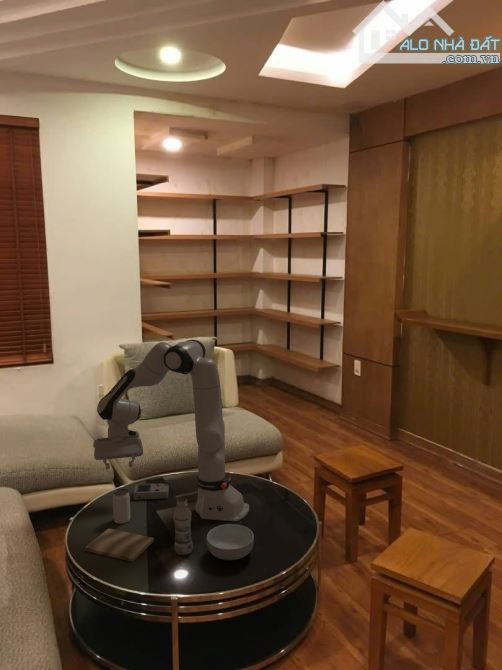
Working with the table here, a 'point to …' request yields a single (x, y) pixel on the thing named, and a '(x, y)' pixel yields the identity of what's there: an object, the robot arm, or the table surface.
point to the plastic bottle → (182, 528)
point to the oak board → (119, 544)
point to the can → (121, 506)
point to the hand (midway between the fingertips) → (119, 467)
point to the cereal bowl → (230, 541)
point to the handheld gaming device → (150, 491)
